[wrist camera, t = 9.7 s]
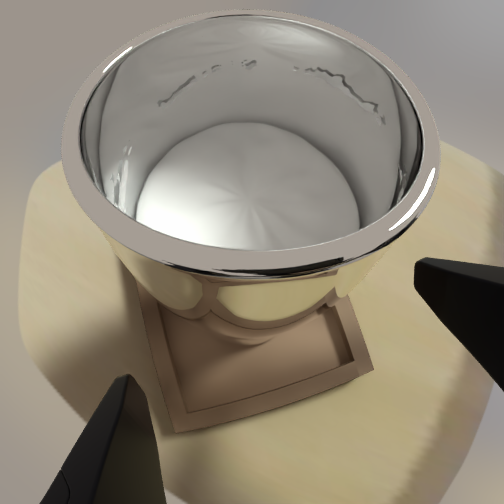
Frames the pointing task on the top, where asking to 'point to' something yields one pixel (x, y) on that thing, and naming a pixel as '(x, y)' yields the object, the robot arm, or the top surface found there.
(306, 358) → the walnut tray
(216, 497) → the top surface
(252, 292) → the silver metal tumbler
